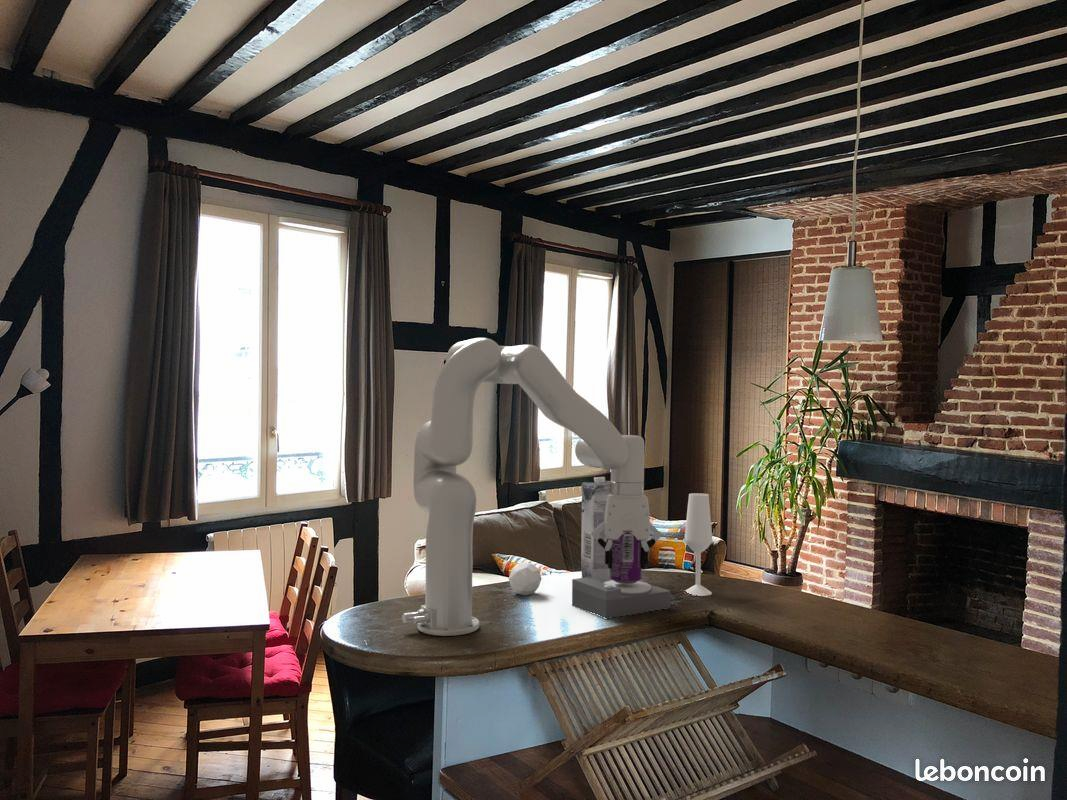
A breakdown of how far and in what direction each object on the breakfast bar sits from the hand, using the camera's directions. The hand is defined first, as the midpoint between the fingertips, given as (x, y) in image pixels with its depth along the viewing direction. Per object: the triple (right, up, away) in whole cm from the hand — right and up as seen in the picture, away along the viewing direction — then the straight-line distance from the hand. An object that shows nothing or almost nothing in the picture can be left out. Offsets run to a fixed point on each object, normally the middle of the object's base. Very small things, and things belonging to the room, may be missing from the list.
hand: (626, 567), depth 181 cm
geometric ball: (-23, -9, +11) cm, 27 cm away
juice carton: (-3, -9, +24) cm, 26 cm away
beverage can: (0, -3, 0) cm, 3 cm away
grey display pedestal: (-1, -9, -1) cm, 9 cm away
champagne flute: (+19, -9, +14) cm, 26 cm away
